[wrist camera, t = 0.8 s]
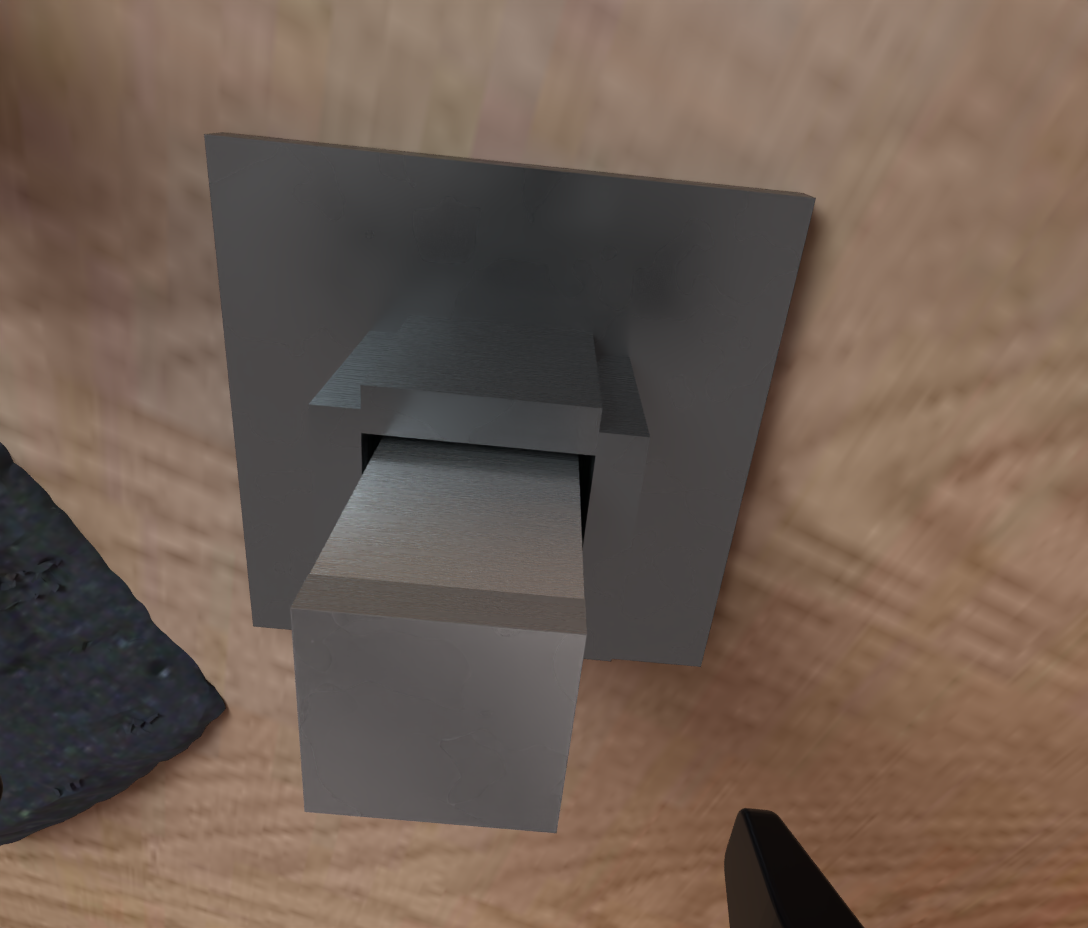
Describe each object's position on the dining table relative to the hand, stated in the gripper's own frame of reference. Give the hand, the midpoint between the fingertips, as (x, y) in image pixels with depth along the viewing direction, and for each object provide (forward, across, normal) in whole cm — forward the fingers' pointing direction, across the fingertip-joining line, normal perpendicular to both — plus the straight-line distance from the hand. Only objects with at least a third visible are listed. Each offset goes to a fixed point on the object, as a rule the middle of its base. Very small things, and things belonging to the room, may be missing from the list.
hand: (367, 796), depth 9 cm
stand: (+13, 0, +1) cm, 13 cm away
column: (+12, -1, +1) cm, 12 cm away
